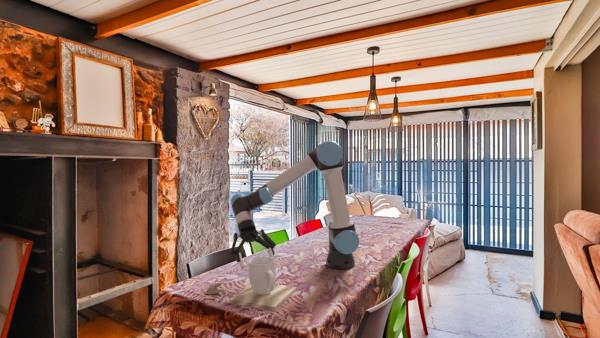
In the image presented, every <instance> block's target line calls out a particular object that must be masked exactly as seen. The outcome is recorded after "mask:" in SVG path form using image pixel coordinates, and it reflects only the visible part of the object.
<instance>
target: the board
mask: <svg viewBox="0 0 600 338" xmlns="http://www.w3.org/2000/svg"><path fill="white" fill-rule="evenodd" d="M296 291H297V286H291V285H283V284H278V283H277V284H276V283H275V288H274V290H273V291H271V292H270V293H269V294H266V295H257V294H255V293H254V291H253V289H252V287H251V284H250V285H248V286H247V287H245V288H244V289H242V290H241V291H239V292H238V293H237V294H235V295H234V296H232V297H231V298H229V299H228V301H229V302H228V303H229V304H231V305H238V306H243V307H250V308H255V309H262V310H267V311H272V312H273V311H275V312H277V310H278V309H279V308H281V306H282V305H283V304H285V302H287V300H288V299H289V298H291V296H293V295H294V293H296Z"/></svg>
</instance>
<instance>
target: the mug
mask: <svg viewBox="0 0 600 338" xmlns="http://www.w3.org/2000/svg"><path fill="white" fill-rule="evenodd" d="M274 258H275V257H274ZM274 258H271V257H269V256H257V257H252V258H250V259H249V260H248V279H249V283H250V285H251V287H252V289H253V291H254V293H255V294H257V295H266V294H269V293H270V292H271V291H273V290H274V288H275V284H276V276H277V272H276V271H277V268H276V267H277V266H276V259H274Z"/></svg>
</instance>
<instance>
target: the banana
mask: <svg viewBox="0 0 600 338" xmlns="http://www.w3.org/2000/svg"><path fill="white" fill-rule="evenodd" d="M226 280H227V277H224V278H223V279H221V281H219V282H217V283H214V284H212V286H209V288H207V290H205V292H204V293H205V294H209V295H217V296H220V293H226V290H225V289H222V288H221V289H217V288H218V287H219V286H220V285H222V283H224V282H225V281H226ZM205 294H204V295H205Z"/></svg>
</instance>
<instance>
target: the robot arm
mask: <svg viewBox="0 0 600 338" xmlns="http://www.w3.org/2000/svg"><path fill="white" fill-rule="evenodd" d="M343 156H344V155H343V149H342V146H341V145H340V144H339V143H337V142H336V141H334V140H326V141H322V142H321V143H320V144H318V145H317V146H316V147H315V148H314V149H313V150H311V151H309V152H308V154H306V157H305V158H302V160H300V161H299V162H297V163H296V164H294V165H293V166H291V167H290V168H288V169H286V170H285V171H283V172H281V173H279V174H278V175H277V176H275V177H274V178H272V179H271V180H269V181H268V182H266V183H265V184H263V185H261V187H258V188H257V189H256V190H255V191H254V192H251V193H249V194H247V195H245V194H243V193H239V194H237V193H236V194H234V195H233V196H232V197H231V198H230V205H231V209H232V212H233V215H234V219H235V222H236V225H237V229H238V230H237V231H238V232H239V233H237V232H234V233H233V237H232V239H233V241H232V245H231V249H230V253H229V255H230V256H234V258H235V261H236V263H239V267H240V270H241V271H243V270H244V268H245V263H244V260H243V256H242V253H241V252H240V251H241V250H242V248H243V246H244V245H245V243H247V244H248V243H254V242H256V243H257V244H260V245H261V246H263V247H264V248H265V249H267V254H268V257H271V258H274V259H275V250H274V249H275V247H276V246H277V243H275V242H274V240H273V239H271V237H269V235H268V234H266V232H265V230H264V229H263V228H262V229H260V230H257V227H256V225H255V222H254V218H253V215H252V213H251V212H252V211H254V210H256V209H258V208H260V207H262V206H265V205H268V204H269V203H271V202H273V200H274V197H275V196H276V195H278V194H279V193H281V192H282V191H284V190H285V189H287V188H288V187H290V186H292V185H293V184H295V183H296V182H298V181H299V180H301V179H303V178H304V177H305V176H306V175H308V174H310V173H311V172H313V171H317V170H319V172H320V173H321V174H322V175H323V179H324V186H325V189H326V194H327V196H326V197H327V200H328V206H329V211H330V216H331V221H329V222H328V226H327V227H328V252H327V255H326V260H325V266H327V267H328V268H331V269H335V270H346V269H352V268H354V267H355V266H356V260H355V257H354V254H353V253H354V252H356V251H357V250H358V248H359V246H360V237H359V235H358V233H357V231H356V226H355V225H356V224H355V222H354V220H352V219H351V216H350V212H349V211H350V209H349V206H348V201H347V200H348V199H347V196H346V195H347V194H346V190H345V185H344V180H343V175H342V169H343V168H344V163H343ZM239 238H240V239H241V242H240V243H239V245H238V247H237V248H236V245H237V241H238V239H239ZM235 249H236V250H235ZM275 260H276V259H275Z"/></svg>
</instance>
